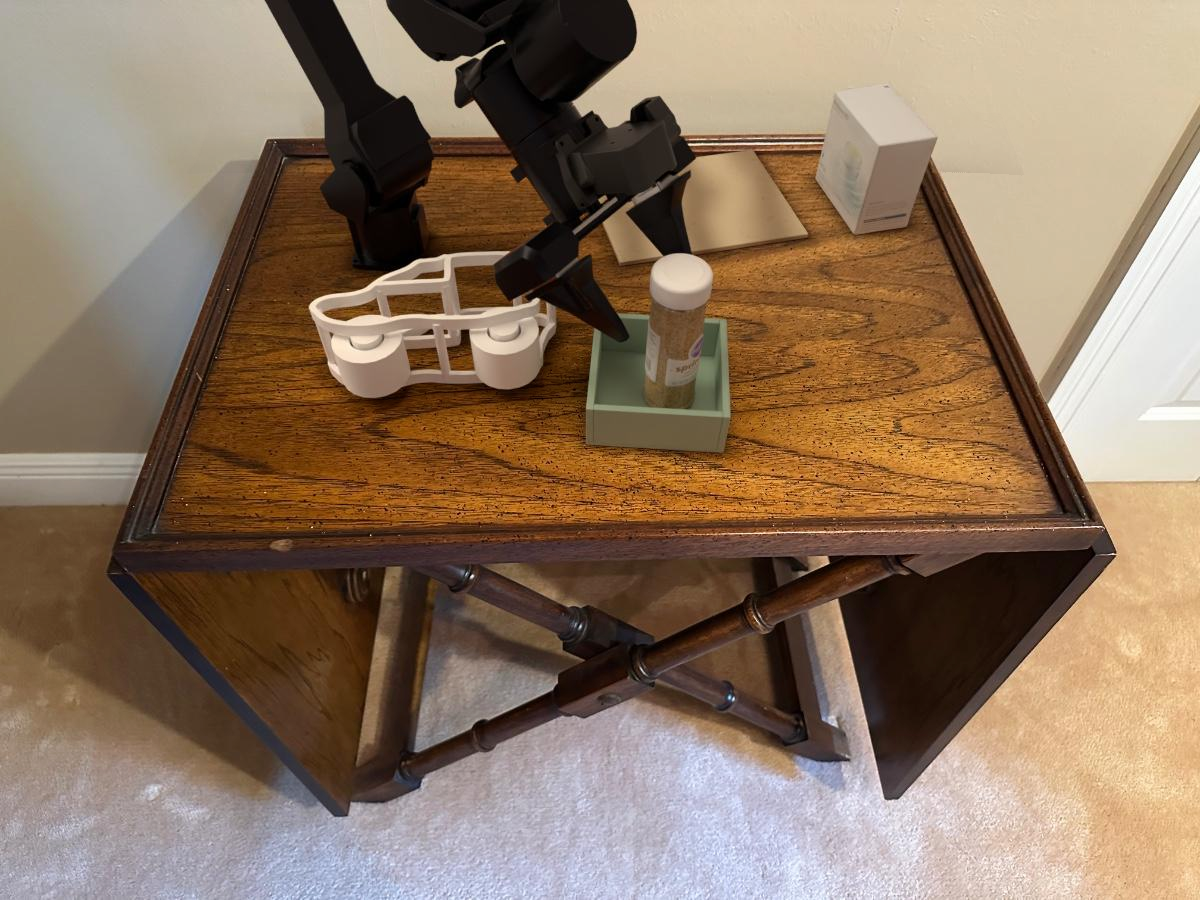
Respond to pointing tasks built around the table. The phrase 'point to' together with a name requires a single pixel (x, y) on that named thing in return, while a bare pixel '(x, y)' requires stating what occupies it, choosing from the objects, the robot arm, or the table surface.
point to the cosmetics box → (874, 157)
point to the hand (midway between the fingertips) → (659, 307)
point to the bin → (621, 404)
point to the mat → (716, 211)
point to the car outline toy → (378, 342)
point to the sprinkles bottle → (675, 329)
